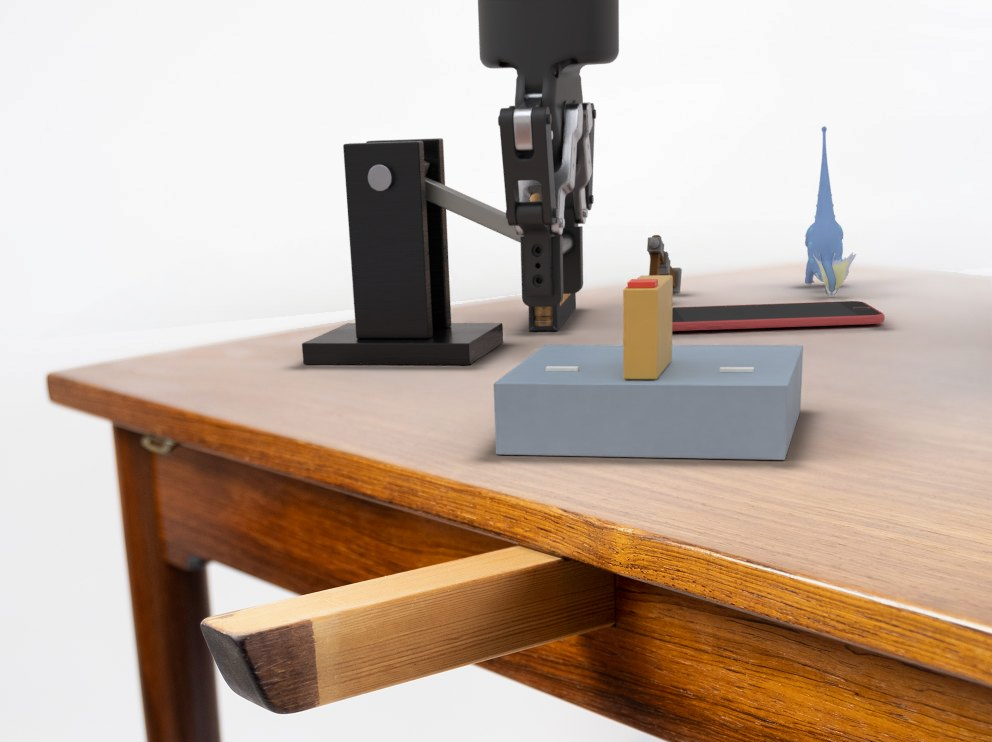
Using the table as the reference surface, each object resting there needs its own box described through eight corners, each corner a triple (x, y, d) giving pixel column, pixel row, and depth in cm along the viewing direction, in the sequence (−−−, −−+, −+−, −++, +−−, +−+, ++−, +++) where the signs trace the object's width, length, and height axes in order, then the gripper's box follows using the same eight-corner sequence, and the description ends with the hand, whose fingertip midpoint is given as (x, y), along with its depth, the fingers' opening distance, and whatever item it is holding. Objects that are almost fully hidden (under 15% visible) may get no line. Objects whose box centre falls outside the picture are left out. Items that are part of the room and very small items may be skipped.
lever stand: (503, 342, 92) (496, 135, 88) (469, 365, 85) (460, 140, 80) (348, 342, 95) (334, 141, 90) (303, 364, 87) (285, 146, 83)
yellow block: (640, 360, 66) (640, 269, 64) (672, 360, 66) (673, 269, 64) (623, 379, 62) (622, 282, 60) (657, 379, 61) (657, 282, 60)
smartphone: (888, 315, 92) (658, 323, 92) (888, 324, 92) (658, 332, 92) (863, 299, 98) (647, 307, 99) (862, 309, 99) (647, 316, 99)
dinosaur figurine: (801, 338, 113) (813, 281, 103) (799, 153, 115) (811, 80, 106) (840, 337, 112) (856, 280, 103) (838, 151, 115) (854, 78, 105)
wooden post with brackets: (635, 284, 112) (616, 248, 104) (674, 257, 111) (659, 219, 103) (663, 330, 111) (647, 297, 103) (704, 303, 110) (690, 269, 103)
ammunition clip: (549, 308, 106) (545, 124, 101) (576, 308, 105) (573, 123, 101) (528, 331, 96) (523, 129, 91) (557, 330, 96) (553, 127, 91)
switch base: (800, 411, 70) (803, 341, 68) (784, 460, 61) (788, 381, 60) (545, 408, 73) (544, 341, 71) (495, 454, 64) (493, 379, 62)
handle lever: (566, 267, 88) (582, 227, 87) (548, 277, 83) (565, 235, 82) (380, 182, 89) (394, 142, 88) (352, 188, 84) (366, 145, 83)
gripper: (591, -46, 73) (595, 317, 79) (639, -28, 85) (638, 283, 92) (442, -36, 74) (457, 317, 81) (510, -20, 87) (518, 284, 94)
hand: (553, 297), depth 86 cm, fingers closed on handle lever, 5 cm apart
